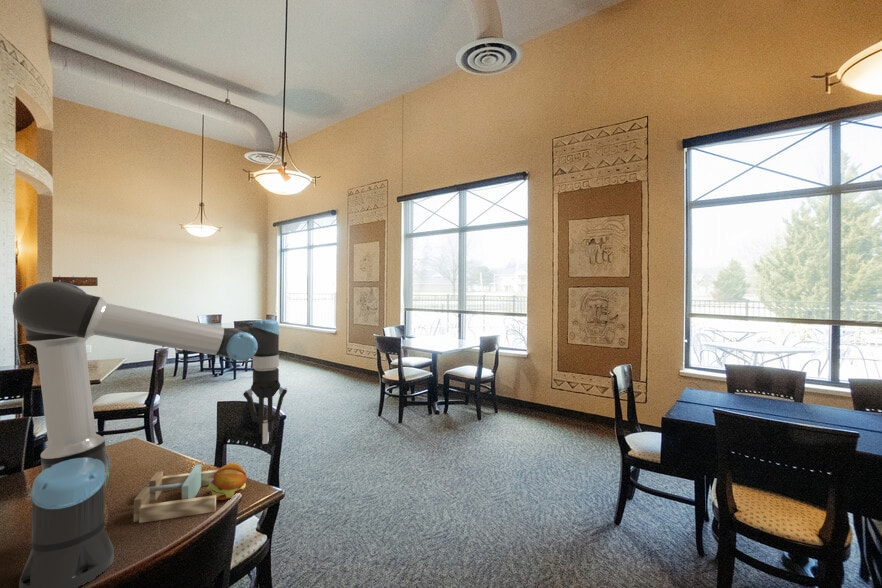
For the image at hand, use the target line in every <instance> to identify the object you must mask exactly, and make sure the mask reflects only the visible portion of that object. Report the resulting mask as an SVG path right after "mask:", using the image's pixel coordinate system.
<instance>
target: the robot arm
mask: <svg viewBox="0 0 882 588" xmlns="http://www.w3.org/2000/svg"><path fill="white" fill-rule="evenodd" d="M12 314H13V317H14V318H15V321H17V322H18V324H20V326H22V327H23V328H24V335H25V342H26V343H27V344H29V345H31V346H33V347H35V349H36V354H37V363H38V371H39V379H40V386H41V396H42V403H43V412H44V420H45V427H46V435H47V442H48V443H47V445H48V446H47V447H46V448H44V450H43V451H41V453H40V462H41V469H42V471H40V473H39V474H37V476H36V477H35V479H34V480H33V484H32V488H31V491H30V497H31V505H32V508H31V511H32V512H31V551H30V553H29V556H28V558H27V561H26V563H25V566H24V568H23V570H22V573H21V575H20V578H19V581H18V583H19V584H18V588H77V587H79V586H81V585H83V584H84V583H86V582H89V583H90V582H92V581H94V580H96V579H97V578H96V576H98V575H99V574H101V573H102V572H104V571H105V570H106V569H107V568H108V567H109V566H110V565H112V564H113V562H114V559H115V548H114V545H113V542H112V541H111V539H110V537H109V534H108V532H107V531H106V528H105V510H106V509H105V507H106V506H105V501H106V500H105V497H106V496H105V495H106V486H107V484H106V481H107V475H108V471H109V467H110V468H111V464H110V457H109V456H108V453H107V447H106V440H105V437H104V436H101V435H100V434H98V433H97V432H96V430H97V429H96V424H95V423H96V422H95V416H94V415H95V414H94V407H93V397H92V389H91V388H92V387H91V382H90V381H91V380H90V372H89V371H90V370H89V365H88V364H89V363H88V355H87V344H86V342H87V340H88V339H90V338H91V337H93V336H98V337H106V338H111V339H116V340H123V341H130V342H135V343H141V344H146V345H154V346H159V347H163V348H164V347H165V348H170V349H178V350H181V351H182V350H183V351H189V352H195V353H201V354H206V355H207V354H208V355H214V356H218V357H222V358H227V359H228V358H229V359H232V360H233V361H239V362H244V361H248V360H251V358H252V368H253V370H252V384H251V386H250V388H249V389H248V390H245V391H244V392H243V393H242V396H244V398H245V399H246V401H247V405H248V409H249V413H250V416H251V419H252V422H254V423H257V424H258V433H259V434H262V445H265V444H266V445H268V444H269V441H270V440H269V438H270V435H269V434H270V433H271V432H272V431H273V422H274V421H277V420H278V419H279V415H280V412H281V408H282V406H283V405H282V403H283V400H284V397H285V396H286V394H288V393H287V392H288V388H287V387H283V386H281V383H280V381H279V380H280V378H279V377H280V375H279V368H278V367H279V363H280V360H279V359H280V357H279V356H280V353H279V344H280V343H279V342H280V331H279V330H280V328H279V322H278V320H276V319H256V320H254V321H253V322H252V326H247V327H221V326H216V325H212V324H206V323H204V322H197V321H193V320H188V319H185V318H184V319H183V318H179V317H175V316H170V315H166V314H165V315H164V314H160V313H155V312H151V311H147V310H141V309H137V308H132V307H127V306H122V305H117V304H113V303H108V302H107V301H106V300H105V299H104V298H103V297H102V296H96V295H92V294H88V293H87V292H85V290H83V288H80V287H79V286H77V285H75V284H71V283H68V282H65V281H64V282H62V281H61V282H59V281H57V282H56V281H53V282H52V281H51V282H49V281H47V282H39V283H35V284H32V285H29V286H27V287H26V288H24V289H23V290H22V291H21V292H19V293H18V294H17V296H16V297H15V299H14V300H13V303H12ZM277 392H278V394H279V397H278V400H277V405H276V408H275V413H274V415H273V408H274V406H273V404H274V403H273V398H274V396H275V395H276V394H277ZM253 394H254V395H256V397H257V398H258V414H257V409H256V406H255V403H254V398H253ZM265 399H267V420H264V419H265V418H264V415H265V412H264V411H265ZM110 567H111V566H110ZM110 567H109V568H110ZM109 568H108V569H109ZM108 569H107V570H108ZM107 570H106V571H107ZM106 571H105V572H106ZM105 572H104V573H105ZM101 575H102V574H101ZM95 578H96V579H95ZM83 586H84V585H83ZM81 587H82V586H81ZM79 588H80V587H79Z"/></svg>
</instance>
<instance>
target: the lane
mask: <svg viewBox="0 0 882 588" xmlns="http://www.w3.org/2000/svg"><path fill="white" fill-rule="evenodd" d="M218 470H219V469H212V470H205V471H201V487H204V486H209V484H210V483H211V481H212V480H214V478H213V477H214V475H215V473H216V472H217V471H218ZM190 473H191V472H186V473H179V474H171V475H164V471H162V470H160V471H156V473H155V474H154V475H153V476H152V477H151V478H150V480H149V484H148V485H149V486H148V487H154V486H162V485H170V484H178V483H184V482H185V481H186V479H187V478H188V476H189V474H190ZM145 488H146V487H145ZM180 489H181V490H182V488H178V489H177V490H180ZM173 490H176V489H171V490H170V491H173ZM165 491H167V492H168V490H163V491H155V492H150V488H146V489H143V490H142V491H141V492H140V491H139V493H138V494H137V496H136V497H135V498H134V499H133V523H135V522H138V523H139V524H143V523H148V522H155V521H162V520H169V519H175V518H183V517H189V516H195V515H202V514H207V513H208V514H210V513H214V512H216V510H217V500H216V495H212V496H210V495H206V496H199V497H195V498H191V499H183V500H182V499H177V500H169V501H163V502H155V503H150V502H154V501H157V499H158V498H159V496H160V495H161V493H162V492H165Z"/></svg>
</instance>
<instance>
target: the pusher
mask: <svg viewBox="0 0 882 588" xmlns="http://www.w3.org/2000/svg"><path fill="white" fill-rule="evenodd" d="M201 472H202V464H201V463H200V464H199V463H198V464H195V465H194V467H193V468H192V469H191V471H190V472H189V473H190V474H189V476H188V478H187V479H186V481H185V482H184V483H178V484H170V485H162V486H154V487H149V486H148V487H147V486H146V487H140V488H139V493H140V492H141V491H142V490H143V489H146V488H150V492H155V491H162V492H164V491H163V490H167V491H172V490H171V489H175V490H179V489H178V488H182V489H181V500H183V499H191V498H196V496H197V495H198V492H199V491H200V489H201V487H202V486H201Z"/></svg>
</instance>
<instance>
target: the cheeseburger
mask: <svg viewBox="0 0 882 588" xmlns="http://www.w3.org/2000/svg"><path fill="white" fill-rule="evenodd" d="M217 470H218V471H217V472H216V473H215V475H214V477H213V478H214V480H212V481H211V483H210V484H209V485H207V487H208V490H209V496H212V495H216V501H222V500H223V501H225V500H229V499H232V498H231V497H232V496H233V495H235V494H236V493H240V494H241V493H243V490H244V489H245V488H246V486H247V484H246V482H247V480H248V478H247V477H248V476H247V473H246V471H245V470H244V469H243V467H242V466H241V465H240V464H238V463H235V462H233V463H232V462H231V463H227V464H225V465H223V466H222V467H220V468H219V469H217Z"/></svg>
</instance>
